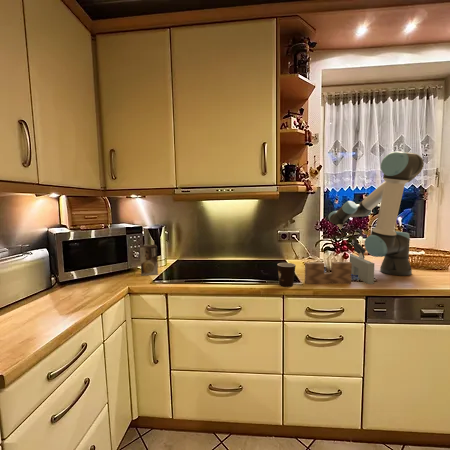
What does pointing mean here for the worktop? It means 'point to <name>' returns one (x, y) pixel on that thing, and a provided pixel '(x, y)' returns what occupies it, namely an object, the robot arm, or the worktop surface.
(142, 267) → the coffee box
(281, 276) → the coffee mug
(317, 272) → the walnut slotted board
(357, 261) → the grey plain narrow board
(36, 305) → the worktop surface
